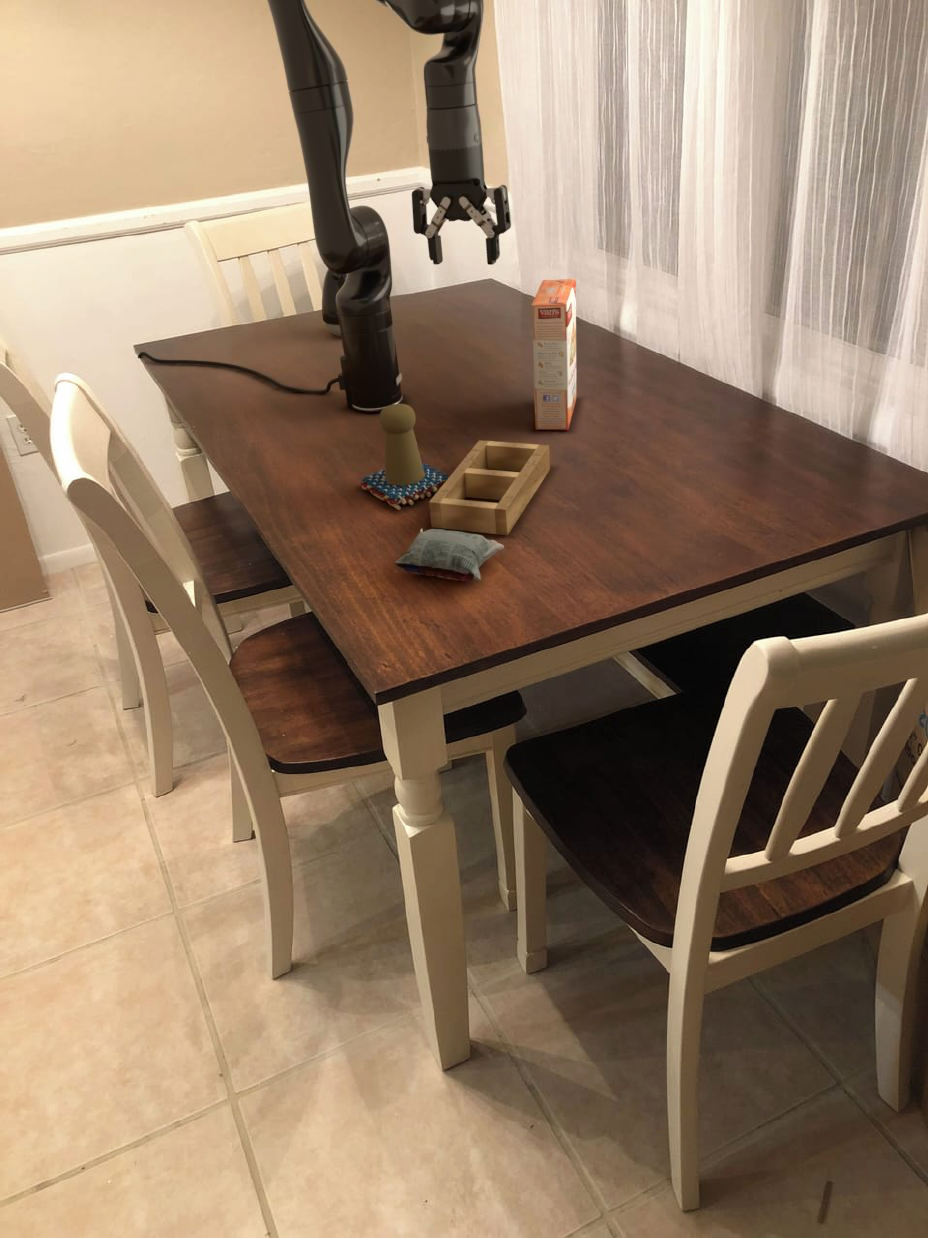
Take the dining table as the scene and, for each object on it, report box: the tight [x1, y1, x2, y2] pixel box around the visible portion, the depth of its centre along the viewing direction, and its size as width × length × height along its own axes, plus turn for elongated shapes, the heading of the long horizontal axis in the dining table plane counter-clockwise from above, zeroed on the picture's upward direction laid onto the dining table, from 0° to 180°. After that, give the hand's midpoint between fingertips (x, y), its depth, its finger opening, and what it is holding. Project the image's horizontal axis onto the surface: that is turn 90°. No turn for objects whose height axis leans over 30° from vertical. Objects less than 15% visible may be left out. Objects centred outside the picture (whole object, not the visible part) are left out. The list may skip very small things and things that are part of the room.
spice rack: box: [428, 439, 551, 536], centre depth 138 cm, size 11×21×4 cm, turn 159°
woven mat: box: [360, 460, 450, 511], centre depth 143 cm, size 10×11×2 cm
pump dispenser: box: [321, 268, 348, 338], centre depth 205 cm, size 10×10×15 cm
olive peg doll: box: [378, 403, 425, 486], centre depth 140 cm, size 6×6×11 cm
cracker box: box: [531, 278, 577, 431], centre depth 156 cm, size 14×6×21 cm, turn 168°
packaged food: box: [394, 528, 505, 582], centre depth 122 cm, size 9×12×5 cm
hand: (464, 263), depth 141 cm, fingers open, 8 cm apart
